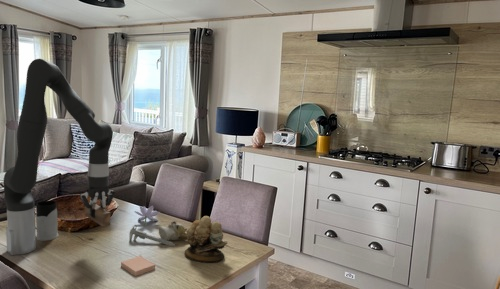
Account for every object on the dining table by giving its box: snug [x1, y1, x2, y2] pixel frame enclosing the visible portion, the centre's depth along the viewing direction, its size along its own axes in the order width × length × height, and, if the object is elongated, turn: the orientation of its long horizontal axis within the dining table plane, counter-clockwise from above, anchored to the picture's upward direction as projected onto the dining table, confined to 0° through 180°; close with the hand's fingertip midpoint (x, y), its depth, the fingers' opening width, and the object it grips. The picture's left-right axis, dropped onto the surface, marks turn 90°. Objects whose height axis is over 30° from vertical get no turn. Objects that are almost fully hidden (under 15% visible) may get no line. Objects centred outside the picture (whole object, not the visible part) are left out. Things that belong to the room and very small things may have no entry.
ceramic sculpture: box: [158, 220, 188, 241], centre depth 164 cm, size 11×9×15 cm
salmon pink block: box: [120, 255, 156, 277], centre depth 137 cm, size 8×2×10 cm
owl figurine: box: [183, 215, 228, 264], centre depth 149 cm, size 18×12×17 cm, turn 72°
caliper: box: [129, 226, 176, 247], centre depth 160 cm, size 21×1×6 cm, turn 80°
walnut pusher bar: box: [84, 202, 112, 228], centre depth 147 cm, size 3×16×5 cm, turn 46°
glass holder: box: [35, 200, 60, 242], centre depth 160 cm, size 9×14×15 cm, turn 89°
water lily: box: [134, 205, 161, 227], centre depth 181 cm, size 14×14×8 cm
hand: (97, 216), depth 147 cm, fingers closed on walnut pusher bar, 3 cm apart
